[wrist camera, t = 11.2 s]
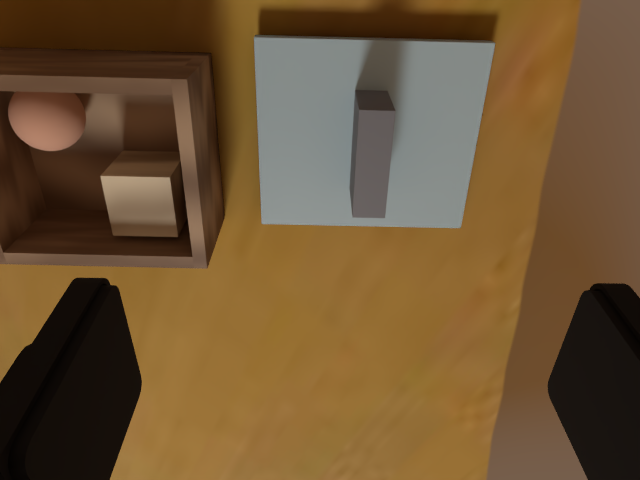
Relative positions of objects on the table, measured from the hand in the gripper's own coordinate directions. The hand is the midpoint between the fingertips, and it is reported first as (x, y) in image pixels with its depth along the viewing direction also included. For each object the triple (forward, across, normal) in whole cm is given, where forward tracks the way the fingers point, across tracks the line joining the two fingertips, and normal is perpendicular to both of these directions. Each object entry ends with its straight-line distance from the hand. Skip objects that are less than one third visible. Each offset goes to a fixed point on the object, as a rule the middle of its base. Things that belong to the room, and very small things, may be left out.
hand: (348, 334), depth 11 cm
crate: (+32, +17, +9) cm, 37 cm away
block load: (+31, +14, +12) cm, 36 cm away
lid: (+32, -3, +8) cm, 33 cm away
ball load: (+31, +20, +6) cm, 37 cm away
